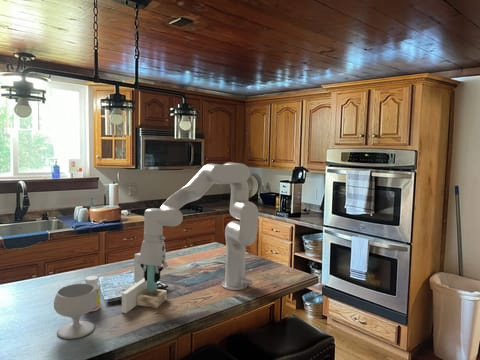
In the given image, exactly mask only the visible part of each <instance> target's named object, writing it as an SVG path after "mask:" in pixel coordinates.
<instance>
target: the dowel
mask: <svg viewBox="0 0 480 360" xmlns="http://www.w3.org/2000/svg"><path fill="white" fill-rule="evenodd" d="M155 273H156V269H155V266H153V265H147V291H148V292H154V291H156V290H157V289H158V282H155Z"/></svg>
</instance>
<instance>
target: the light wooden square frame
mask: <svg viewBox="0 0 480 360" xmlns="http://www.w3.org/2000/svg"><path fill="white" fill-rule="evenodd" d="M167 293H168V290H165V289H159V288H157V290H156V291H154V292H148V291H147V289H145V290H144V291H143V292H141V293H140V294H139V295H137V305H136V306H141V307H148V308H153V309H158V308H159V307H160V306H161V305H162V304H163V303H164V302H165V301H166V300H167V296H168V295H167Z"/></svg>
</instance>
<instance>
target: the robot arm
mask: <svg viewBox="0 0 480 360" xmlns="http://www.w3.org/2000/svg"><path fill="white" fill-rule="evenodd" d="M250 174H251V170H250V168H249V166H247V165H246V164H245V163H239V162H238V163H237V162H230V161H229V162H225V163H223V164H219V163H207V164H205V165H203V166H202V167H201V169H200V170H199V171H198V172H197V173H196V174H195V175H194V176H193V177H192V178H191V179H190V180H189V182H188V183H186V185H184V186H183V187H181V188H180V189H179V190H177V191H175V192H174V193H172V194H171V195H170V196H169V197H168V198H166V200H165V201H164V202H163V203H162V205H161V206H160V207H159V208H157V207H156V208H155V207H152V208H151V207H150V208H147V209H145V210H144V214H143V215H144V219H143V221H144V223H143V240H142V243H141V247H140V252H139V253H140V258H139V260H138V261H137V263H138V264H139V265H140V266H141V267H142V269H143V271H144V278H145V281H147V265H153V266H155V269H156V273H155V282H157V283H158V282H159V281H160V280H161V272H162V271H163V270H164V269H166V268H167V267H169V265H168V262H167V252H166V251H167V250H166V244H165V241H164V240H166V236H164V234H163V226H164V227H177V226H179V225H180V224H181V223H182V222H183V218H184V216H183V213H182V211H181V210H180V209H181V208H182V207H184V206H185V205H186V204H189V203H191V202H194V201H197V200H199V199H201V198H202V197H203V196H204V195H205V194H206V193H207V191H208V190H209V189H210V188H211V187H212V186H213V185H214V184H216V185H230V201H229V215H230V216H231V217H232V218H233V219H236V220H232V221H230V222H228V223H227V225H225V228H224V238H225V266H224V269H225V270H224V271H225V272H224V279H223V280H222V281H221V286H222V287H223V288H224V289H226V290H230V291H241V290H244V289H246V288H247V287H248V285H249V286H253V285H254V281H253V280H252V278H251V279H250V278H247V275H245V274H246V253H247V252H246V251H247V250H246V247H248V246H252V245H253V244H254V242H255V241H256V238H257V235H258V226H259V224H258V223H259V215H260V214H259V208H258V207H257V205H256V204H255V203H254V202H252V201H249V195H250V194H249V191H250V189H249V184H248V180H249V178H250V176H251V175H250ZM238 220H239V221H238Z"/></svg>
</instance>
